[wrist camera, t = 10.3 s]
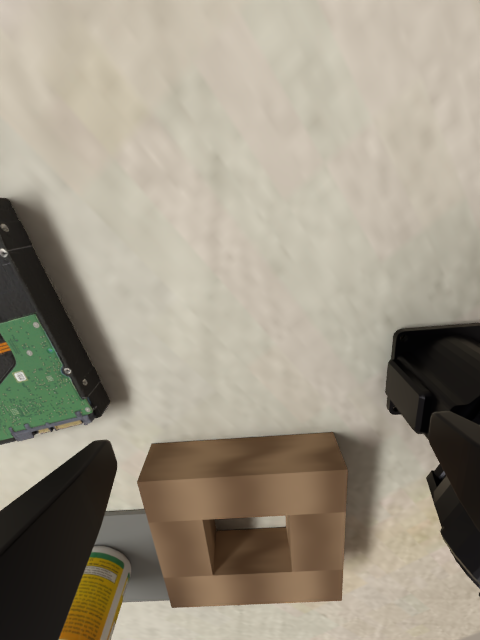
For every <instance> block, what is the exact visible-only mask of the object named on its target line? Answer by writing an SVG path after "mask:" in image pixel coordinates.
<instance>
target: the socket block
mask: <svg viewBox="0 0 480 640" xmlns="http://www.w3.org/2000/svg"><path fill="white" fill-rule="evenodd" d="M347 475H348V469H347V466H346V464H345V461H344V459H343V456H342V454H341V451H340V449H339V446H338V444H337V441H336V439H335V436H334V433H333V432H330V433H315V434H299V435H283V436H268V437H252V438H236V439H221V440H205V441H190V442H174V443H158V444H151V447H150V450H149V452H148V455H147V457H146V460H145V463H144V465H143V468H142V471H141V473H140V476H139V478H138V481H137V484H138V487H139V491H140V494H141V498H142V502H143V505H144V509H145V513H146V516H147V520H148V523H149V527H150V531H151V534H152V538H153V541H154V545H155V549H156V552H157V556H158V560H159V563H160V567H161V570H162V574H163V578H164V581H165V585H166V589H167V592H168V596H169V599H170V603H171V607H172V608H177V607H201V606H225V605H248V604H272V603H296V602H319V601H342V583H343V562H344V540H345V519H346V497H347ZM283 515H286V527H283V528H263V529H244V530H225V531H216V526H215V520H214V519H228V518H246V517H265V516H283Z"/></svg>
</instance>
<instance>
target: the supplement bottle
mask: <svg viewBox="0 0 480 640" xmlns="http://www.w3.org/2000/svg"><path fill="white" fill-rule="evenodd" d="M130 575H131V565H130V562H129V560H128V559H127V557H126V556H125V555H123V554H122V553H121V552H119V551H117V550H115V549H113V548H110V547H106V546H94V547H93V550H92V552H91V555H90V558H89V560H88V563H87V566H86V568H85V571H84V574H83V576H82V579H81V582H80V584H79V587H78V590H77V592H76V595H75V597H74V600H73V603H72V605H71V608H70V611H69V613H68V616H67V619H66V621H65V624H64V627H63V629H62V632H61V635H60V637H59V640H111V637H112V634H113V630H114V627H115V624H116V620H117V617H118V614H119V611H120V608H121V605H122V601H123V598H124V595H125V592H126V588H127V585H128V582H129V578H130Z"/></svg>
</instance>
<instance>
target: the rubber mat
mask: <svg viewBox="0 0 480 640" xmlns="http://www.w3.org/2000/svg"><path fill="white" fill-rule="evenodd" d="M94 546H106V547H110V548H113V549H115V550H117V551H119V552H121V553H122V554H123V555H125V556H126V557H127V559H128V560H129V562H130V565H131V575H130V578H129V582H128V585H127V588H126V592H125V595H124V598H123V601H122V602H141V601H164V600H170V599H169V596H168V592H167V589H166V585H165V581H164V578H163V574H162V570H161V567H160V563H159V560H158V556H157V552H156V549H155V545H154V541H153V538H152V534H151V531H150V527H149V523H148V520H147V516H146V513H145V510H128V511H110V512H105V515H104V519H103V522H102V525H101V528H100V531H99V534H98V537H97V539H96V542H95V545H94Z"/></svg>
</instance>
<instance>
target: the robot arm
mask: <svg viewBox="0 0 480 640" xmlns="http://www.w3.org/2000/svg"><path fill="white" fill-rule="evenodd" d="M402 335H405V337H404V338H403V339H400V337H401V336H402ZM385 393H386V395H387V396H388V397H387V409H388V410H389V412H390V413H391V414H394V415H398V414H402V416H403V417H404V418H405V420H406V421H407V422H408V424H409V425H410V426H411V428H412V429H413V430H414V431H415V432H416V433H417V434H424V435H425V436H426V437H427V439H428V440H429V442H430V445H431V447H432V449H433V451H434V453H435V455H436V457H437V459H438V461H439V463H440V464H439V465H438V467H437V468H436V469H435V471H433V470H432V471H431V472H430V473H429V475H428V476H427V477H426V479H427V482H428V485H429V489H430V492H431V495H432V498H433V501H434V505H435V508H436V511H437V514H438V517H439V520H440V523H441V526H442V529H441V535H442V537H443V540H444V541H445V543H446V544H447V546H448V547H449V549H450V551H451V553H452V554H453V556H454V558H455V560H456V562H457V563H458V564H459V565H460V567H461V568H462V569H463V571H464V572H465V573H466V574H467V576H468V577H469V578H470V579H471V580H472V581H473V582H474V583H475V584H476V585H477V586H478V587H479V588H480V323H471V324H458V325H445V326H432V327H419V328H406V329H399V330H397V331H396V332H395V333H394V336H393V345H392V355H391V360H390V361H389V362H388V369H387V380H386V391H385ZM395 406H396V408H393V407H395ZM116 471H117V460H116V457H115V454H114V451H113V448H112V445H111V443H110V441H109V440H97V441H93V442H92V443H90V444H89V445H88V446H86V447H85V448H84V449H82V450H81V451H80V452H78V453H77V454H76V455H74V456H73V457H72V458H70V459H69V460H68V461H66V462H65V463H64V464H62V465H61V466H60V467H58V468H57V469H56V470H54V471H53V472H52V473H50V474H49V475H48V476H46V477H45V478H44V479H42V480H41V481H40V482H38V483H37V484H36V485H34V486H33V487H32V488H30V489H29V490H28V491H26V492H25V493H24V494H22V495H21V496H20V497H18V498H17V499H16V500H14V501H13V502H12V503H10V504H9V505H8V506H6V507H5V508H4V509H2V510H1V511H0V640H59V637H60V635H61V632H62V629H63V627H64V624H65V621H66V619H67V616H68V613H69V611H70V608H71V605H72V603H73V600H74V597H75V595H76V592H77V590H78V587H79V584H80V582H81V579H82V576H83V574H84V571H85V568H86V566H87V563H88V560H89V558H90V555H91V552H92V550H93V547H94V545H95V542H96V539H97V537H98V534H99V531H100V528H101V525H102V522H103V519H104V515H105V511H106V508H107V504H108V500H109V497H110V493H111V489H112V486H113V482H114V478H115V475H116ZM479 596H480V592H479Z"/></svg>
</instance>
